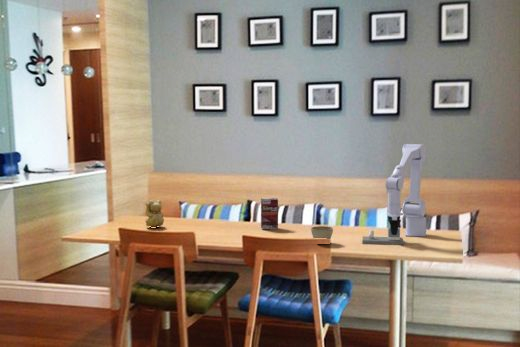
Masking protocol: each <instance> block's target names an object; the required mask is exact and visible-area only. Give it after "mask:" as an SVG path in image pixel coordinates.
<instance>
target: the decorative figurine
mask: <svg viewBox="0 0 520 347" xmlns="http://www.w3.org/2000/svg"><path fill="white" fill-rule="evenodd" d="M144 206H146V209H145V214H146V216H147V218H146V219H145V225H146V227H149V226H151V227H157V226H159V227H161V226H163V225H164V222H165V219H164V214H163V212H162V209H163V207H162V206H163V204H162V200H161V199H158V200H156V202H155V201H154V200H153V199H150V200H149V202H145V205H144Z"/></svg>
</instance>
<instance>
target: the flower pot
mask: <svg viewBox="0 0 520 347" xmlns="http://www.w3.org/2000/svg"><path fill="white" fill-rule="evenodd" d="M310 231H311V235H312V238H313V239H314V238H327V239H330V240H331V238H332V235H333V231H334V227H332V226H328V225H317V226H312V227H311V228H310Z"/></svg>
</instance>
